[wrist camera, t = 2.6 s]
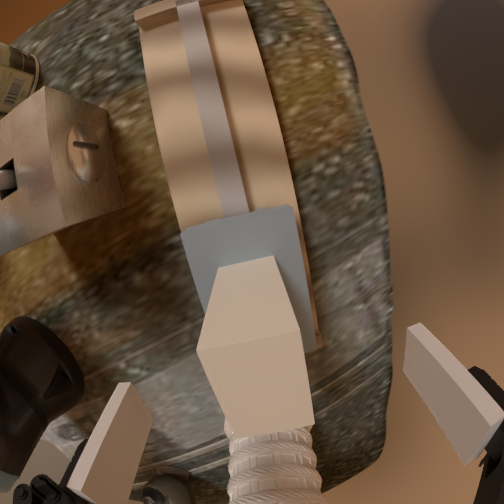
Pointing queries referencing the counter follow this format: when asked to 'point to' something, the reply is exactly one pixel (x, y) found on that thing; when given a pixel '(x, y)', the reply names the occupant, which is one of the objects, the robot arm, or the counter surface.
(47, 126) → the box with ball knob
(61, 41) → the counter surface
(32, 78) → the coffee can
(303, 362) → the carriage
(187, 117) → the rail track
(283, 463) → the decorative container
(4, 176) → the plunger
